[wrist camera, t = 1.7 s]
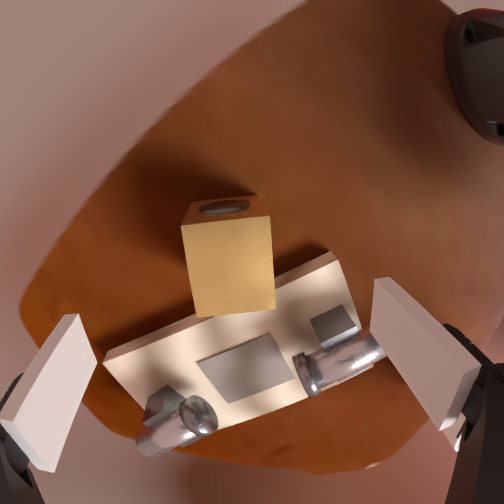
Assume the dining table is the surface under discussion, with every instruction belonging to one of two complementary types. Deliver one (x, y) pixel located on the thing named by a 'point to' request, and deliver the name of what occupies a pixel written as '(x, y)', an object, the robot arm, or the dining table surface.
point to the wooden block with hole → (229, 256)
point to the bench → (238, 348)
